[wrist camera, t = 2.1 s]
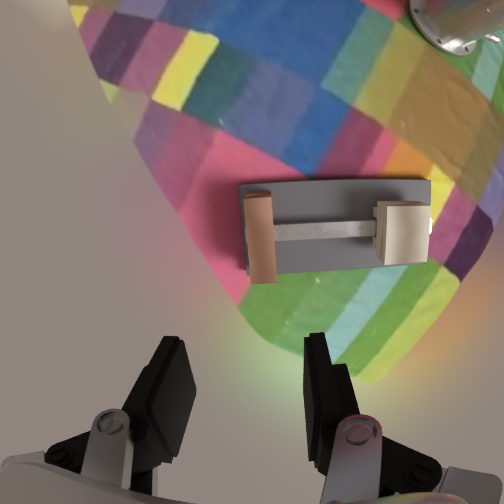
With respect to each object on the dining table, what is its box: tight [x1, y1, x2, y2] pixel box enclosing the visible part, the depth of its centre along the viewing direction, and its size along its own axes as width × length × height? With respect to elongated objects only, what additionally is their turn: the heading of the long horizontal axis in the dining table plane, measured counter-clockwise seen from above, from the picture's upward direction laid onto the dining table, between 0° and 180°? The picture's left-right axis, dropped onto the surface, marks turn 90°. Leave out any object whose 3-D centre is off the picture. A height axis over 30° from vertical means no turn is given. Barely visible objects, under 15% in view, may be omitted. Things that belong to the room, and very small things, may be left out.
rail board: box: [238, 178, 432, 284], centre depth 35 cm, size 26×12×6 cm, turn 95°
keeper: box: [372, 201, 431, 265], centre depth 34 cm, size 6×7×5 cm
